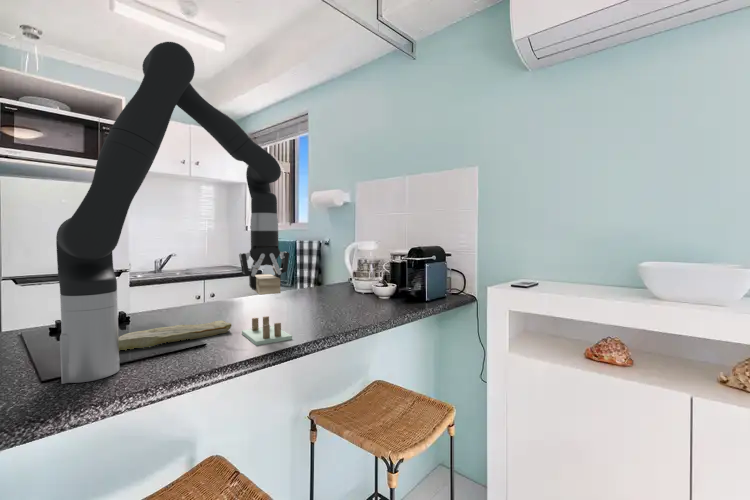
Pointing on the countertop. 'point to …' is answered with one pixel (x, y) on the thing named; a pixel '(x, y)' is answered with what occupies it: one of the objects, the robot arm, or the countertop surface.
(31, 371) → the countertop surface
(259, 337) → the peg stand
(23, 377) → the countertop surface
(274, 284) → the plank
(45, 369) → the countertop surface
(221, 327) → the stone slab
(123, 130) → the robot arm
